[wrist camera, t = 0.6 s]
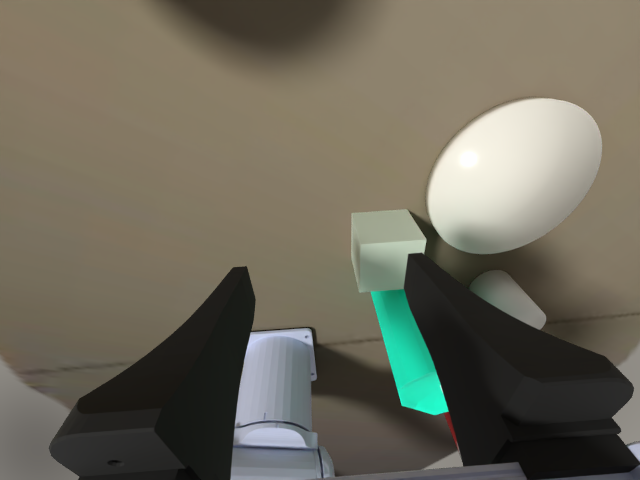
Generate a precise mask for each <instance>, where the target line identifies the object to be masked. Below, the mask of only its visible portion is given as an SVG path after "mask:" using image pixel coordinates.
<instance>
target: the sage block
mask: <svg viewBox="0 0 640 480" xmlns="http://www.w3.org/2000/svg"><path fill="white" fill-rule="evenodd" d="M426 240H427V239H426V238H425V236H424V235H423V233H422V232H421V230H420V229H419V227H418V225H417V224H416V222H415V221H414V219H413V218H412V216H411V215H410V213H409V211H408V210H407V209H403V210H389V211H375V212H361V213H352V235H351V258H352V262H353V267H354V271H355V276H356V280H357V284H358V289H359V292H372V291H385V290H399V289H404V281H405V274H406V266H407V259H408V254H411V253H423V254H424V251H425V246H426Z"/></svg>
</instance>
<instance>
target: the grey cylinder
mask: <svg viewBox="0 0 640 480" xmlns="http://www.w3.org/2000/svg"><path fill="white" fill-rule="evenodd" d="M469 290H470V291H472V292H473V293H475V294H476V295H478V296H479V297H481V298H482V299H484V300H485V301H487V302H488V303H490V304H492V305H493V306H495V307H497V308H498V309H500V310H502V311H504V312H505V313H507V314H509V315H511V316H513V317H515V318H517V319H518V320H520V321H522V322H524V323H526V324H528V325H530V326H532V327H534V328H536V329H539V330H540V329H541V328H542V327H543V326H544V324H545V322H546V315H545V314H544V313H543V311H542V310H541V309H540V308H539V307H538V306H537V305H536V304H535V303H534V302H533V301H532V299H531V298H530V297H529V296H528V295H527V294H526V293H525V292H524V291H523V290H522V288H521V287H520V286H519V285H518V284H517V283H516V282H515V281H514V280H513V279H512V277H511V276H510V275H509V274H508V273H507V272H505V271H502V270H491V271H487V272H485V273H482V274H481V275H479V276H478V277H476V278H475V279H474V280H473V281H472V283H471V284H470V286H469Z"/></svg>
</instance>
